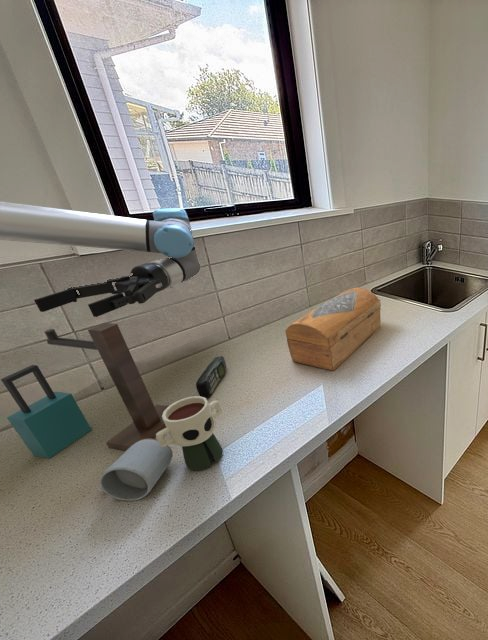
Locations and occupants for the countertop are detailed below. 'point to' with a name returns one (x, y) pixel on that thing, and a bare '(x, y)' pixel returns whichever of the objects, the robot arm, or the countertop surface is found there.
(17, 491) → the countertop surface
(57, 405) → the teal handbag
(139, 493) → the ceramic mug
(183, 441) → the character mug
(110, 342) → the hook stand
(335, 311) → the wooden box
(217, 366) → the mobile phone
